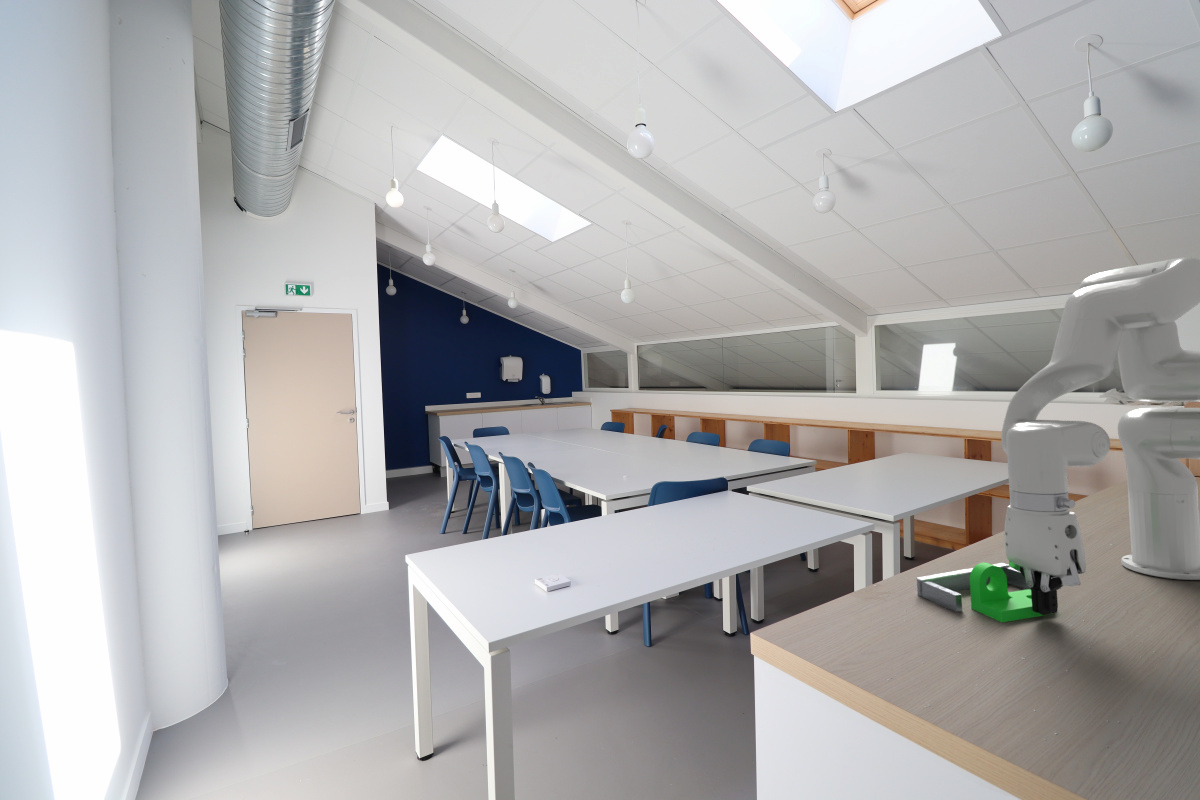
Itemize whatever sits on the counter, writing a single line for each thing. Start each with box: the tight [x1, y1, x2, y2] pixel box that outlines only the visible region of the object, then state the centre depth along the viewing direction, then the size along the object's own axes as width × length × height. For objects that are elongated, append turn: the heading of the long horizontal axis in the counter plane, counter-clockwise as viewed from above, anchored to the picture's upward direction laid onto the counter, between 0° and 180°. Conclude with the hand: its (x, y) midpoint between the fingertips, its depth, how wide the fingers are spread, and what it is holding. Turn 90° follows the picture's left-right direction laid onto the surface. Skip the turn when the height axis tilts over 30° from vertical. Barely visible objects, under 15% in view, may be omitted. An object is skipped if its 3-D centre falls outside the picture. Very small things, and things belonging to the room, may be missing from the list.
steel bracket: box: [916, 562, 1031, 613], centre depth 101 cm, size 20×9×3 cm, turn 103°
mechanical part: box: [969, 561, 1051, 623], centre depth 94 cm, size 12×6×8 cm, turn 100°
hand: (1045, 611), depth 90 cm, fingers closed
